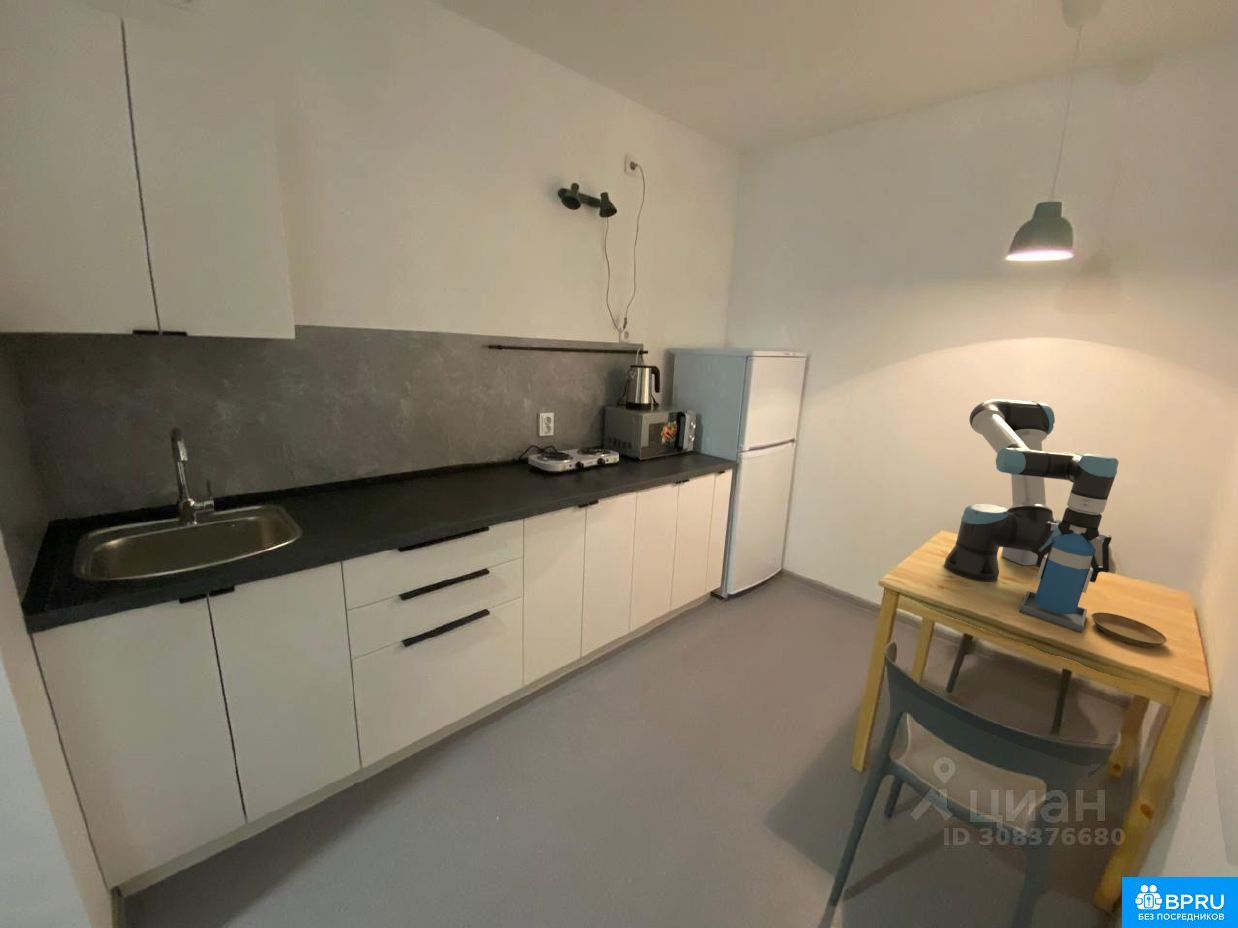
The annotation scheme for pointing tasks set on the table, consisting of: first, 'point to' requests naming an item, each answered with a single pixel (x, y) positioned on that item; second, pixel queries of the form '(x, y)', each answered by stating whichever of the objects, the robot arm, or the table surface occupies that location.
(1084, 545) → the water bottle
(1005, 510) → the robot arm
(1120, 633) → the plant saucer
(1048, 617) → the tray
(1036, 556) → the soap bottle
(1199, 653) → the table surface
